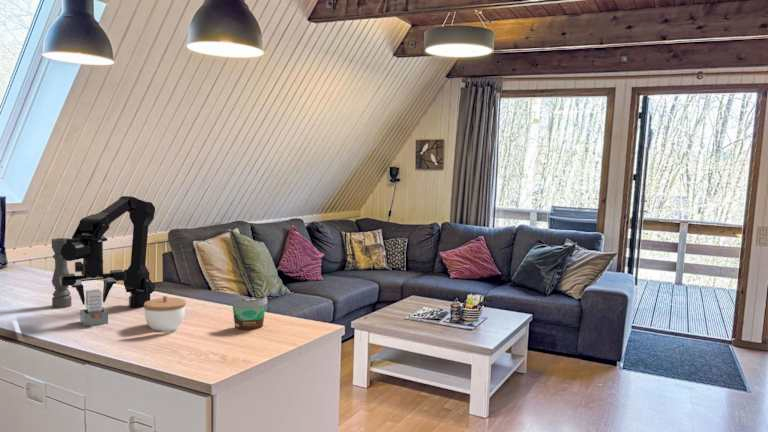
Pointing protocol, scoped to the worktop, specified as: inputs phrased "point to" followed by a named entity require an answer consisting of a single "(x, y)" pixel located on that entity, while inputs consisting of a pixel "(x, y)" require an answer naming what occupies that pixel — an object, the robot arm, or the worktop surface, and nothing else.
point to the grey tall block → (93, 301)
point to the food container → (249, 313)
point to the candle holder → (61, 292)
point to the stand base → (94, 318)
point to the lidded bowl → (164, 313)
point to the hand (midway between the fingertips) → (93, 303)
